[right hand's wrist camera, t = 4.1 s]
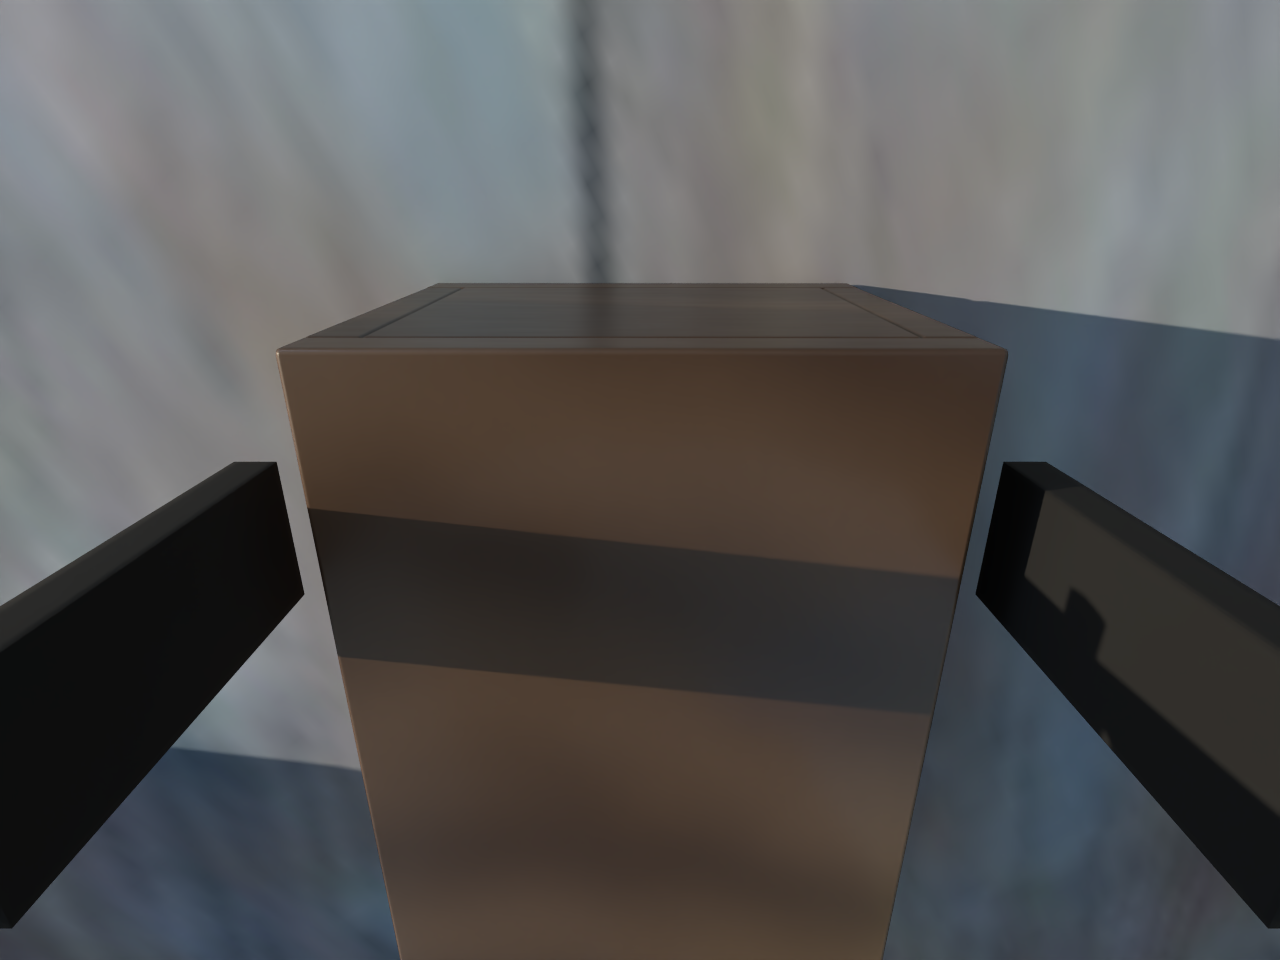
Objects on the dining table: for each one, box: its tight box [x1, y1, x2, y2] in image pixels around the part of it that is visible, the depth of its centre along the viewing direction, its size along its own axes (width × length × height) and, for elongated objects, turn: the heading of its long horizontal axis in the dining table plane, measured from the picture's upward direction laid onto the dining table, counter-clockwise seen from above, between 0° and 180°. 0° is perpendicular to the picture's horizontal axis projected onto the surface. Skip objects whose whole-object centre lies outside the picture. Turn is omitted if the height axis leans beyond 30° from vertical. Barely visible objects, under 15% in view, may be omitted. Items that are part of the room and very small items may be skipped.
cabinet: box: [276, 283, 1008, 960], centre depth 17 cm, size 21×10×8 cm, turn 0°
